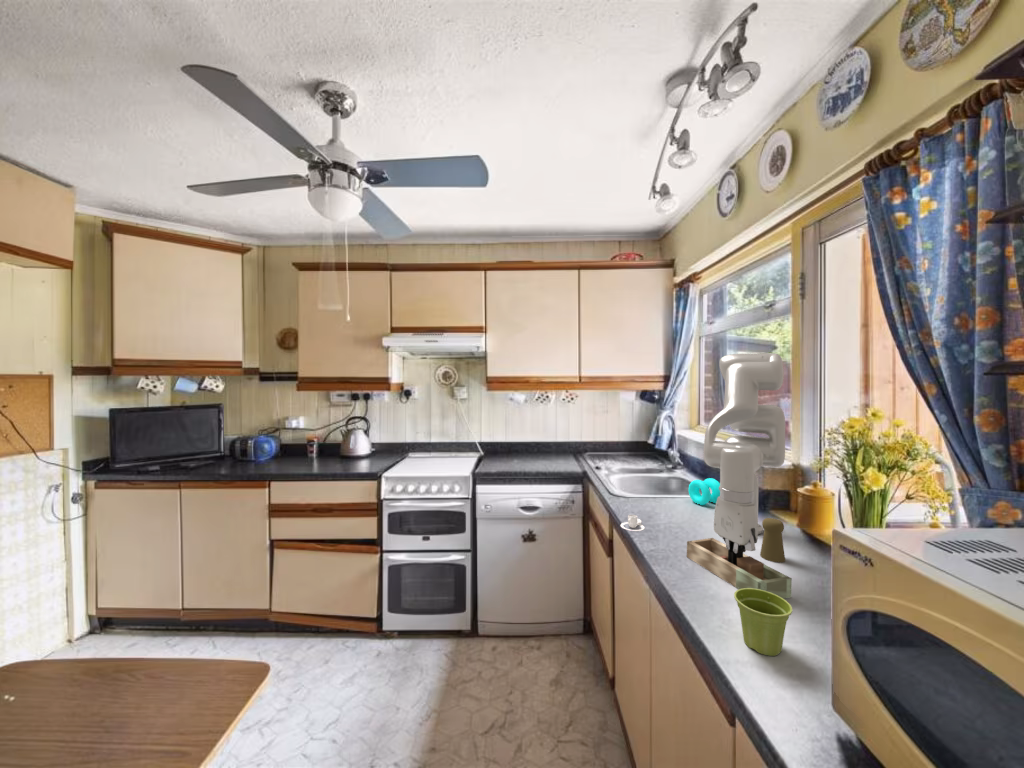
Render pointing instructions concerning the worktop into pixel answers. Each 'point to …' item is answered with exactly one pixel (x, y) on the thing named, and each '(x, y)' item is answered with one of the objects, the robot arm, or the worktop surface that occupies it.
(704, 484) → the donuts
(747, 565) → the block
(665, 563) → the worktop surface
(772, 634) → the plant pot
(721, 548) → the box
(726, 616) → the worktop surface
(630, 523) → the teacup and saucer
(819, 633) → the worktop surface
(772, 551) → the cork
